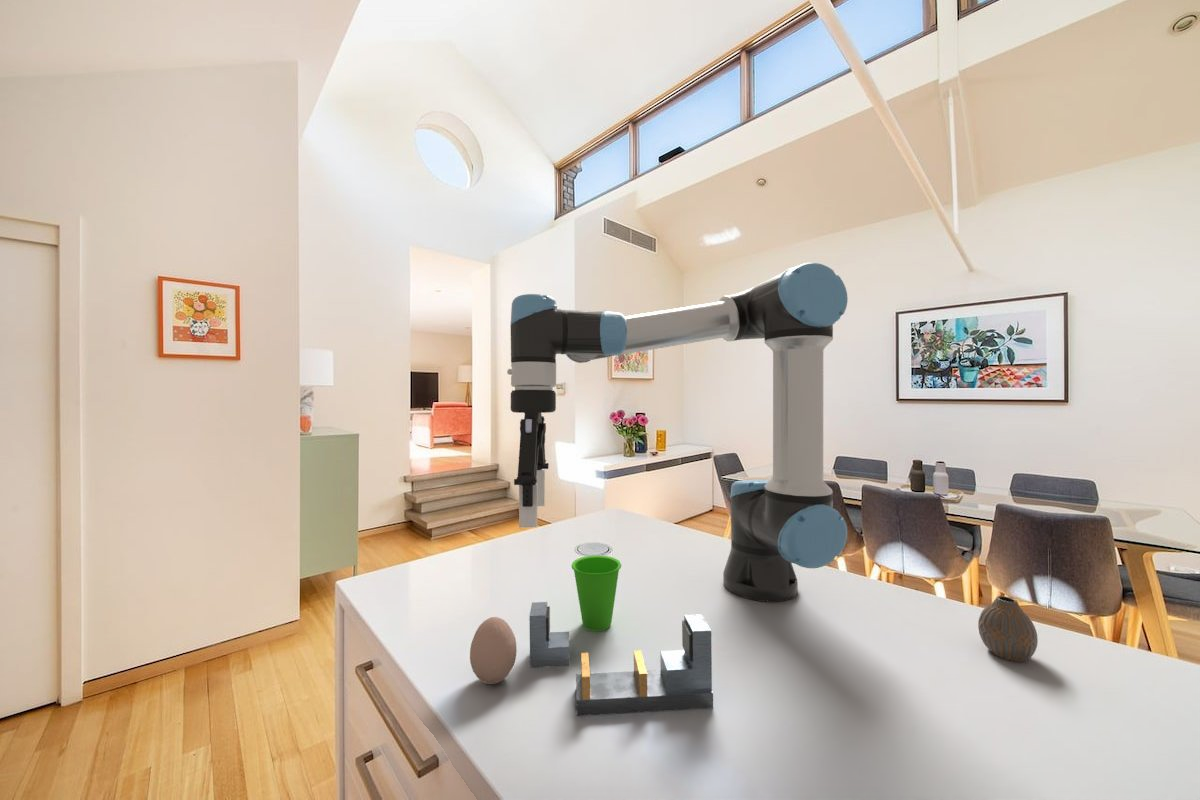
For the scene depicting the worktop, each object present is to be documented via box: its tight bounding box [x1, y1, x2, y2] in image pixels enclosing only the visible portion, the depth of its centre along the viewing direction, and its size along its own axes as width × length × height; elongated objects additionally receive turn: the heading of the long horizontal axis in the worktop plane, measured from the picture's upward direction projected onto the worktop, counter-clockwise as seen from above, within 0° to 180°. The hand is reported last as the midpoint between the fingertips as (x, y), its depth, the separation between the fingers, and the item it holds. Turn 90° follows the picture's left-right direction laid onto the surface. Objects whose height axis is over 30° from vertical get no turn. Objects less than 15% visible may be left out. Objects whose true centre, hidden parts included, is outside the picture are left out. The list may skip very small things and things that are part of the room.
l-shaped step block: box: [528, 601, 570, 669], centre depth 71 cm, size 6×4×8 cm
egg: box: [469, 616, 517, 685], centre depth 65 cm, size 7×7×9 cm
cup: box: [571, 554, 622, 632], centre depth 81 cm, size 9×9×11 cm
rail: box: [575, 613, 714, 717], centre depth 61 cm, size 18×6×10 cm, turn 94°
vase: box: [977, 595, 1039, 662], centre depth 71 cm, size 7×7×9 cm
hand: (533, 515), depth 75 cm, fingers open, 13 cm apart
